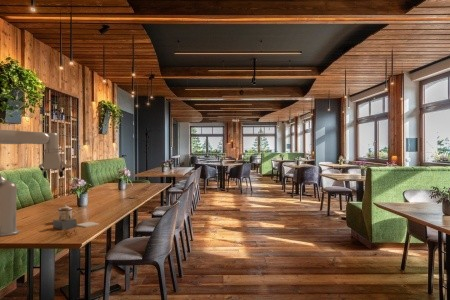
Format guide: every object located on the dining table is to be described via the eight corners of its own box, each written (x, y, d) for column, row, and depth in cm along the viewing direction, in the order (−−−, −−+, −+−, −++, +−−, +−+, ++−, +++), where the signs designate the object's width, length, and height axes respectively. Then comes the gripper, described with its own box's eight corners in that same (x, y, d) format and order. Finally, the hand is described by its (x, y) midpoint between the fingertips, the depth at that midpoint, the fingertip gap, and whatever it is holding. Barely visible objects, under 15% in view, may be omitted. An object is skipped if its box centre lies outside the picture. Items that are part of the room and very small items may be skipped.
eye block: (62, 229, 224) (62, 222, 224) (53, 228, 229) (53, 220, 229) (76, 226, 232) (76, 219, 232) (67, 225, 238) (67, 217, 237)
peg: (63, 228, 227) (63, 209, 227) (59, 227, 230) (59, 208, 230) (70, 227, 231) (70, 208, 231) (66, 226, 234) (65, 207, 234)
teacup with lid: (57, 223, 242) (57, 206, 242) (58, 220, 251) (58, 204, 251) (76, 222, 247) (76, 205, 247) (77, 219, 255) (76, 203, 255)
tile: (86, 227, 230) (86, 226, 230) (76, 225, 235) (76, 224, 235) (99, 224, 239) (99, 223, 239) (89, 222, 244) (89, 221, 244)
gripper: (36, 152, 228) (37, 178, 229) (64, 151, 231) (65, 177, 231) (40, 151, 235) (41, 177, 236) (67, 151, 238) (68, 176, 239)
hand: (53, 177), depth 234 cm, fingers open, 9 cm apart
